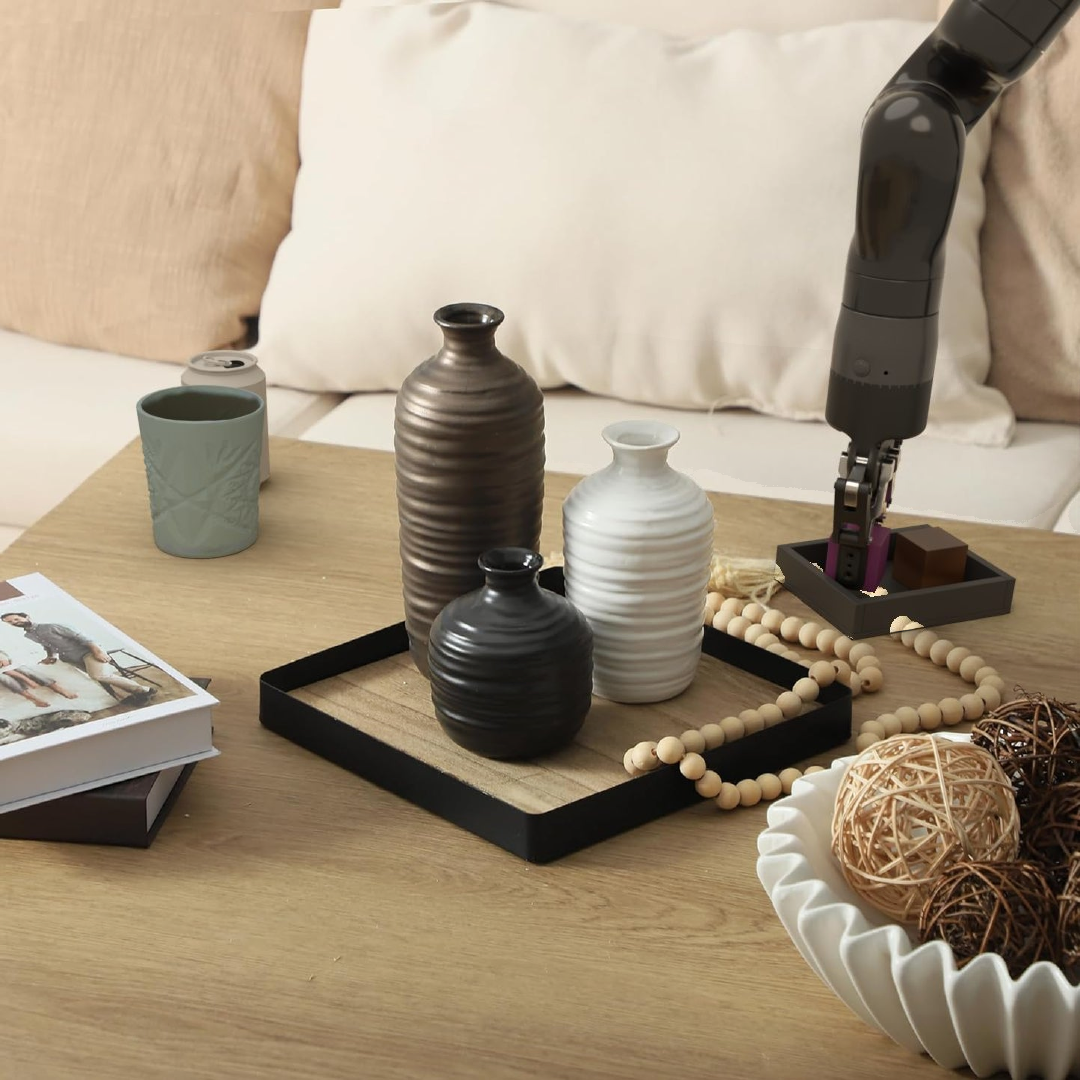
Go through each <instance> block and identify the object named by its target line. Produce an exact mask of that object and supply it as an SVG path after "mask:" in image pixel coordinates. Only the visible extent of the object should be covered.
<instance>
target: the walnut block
mask: <svg viewBox="0 0 1080 1080" xmlns="http://www.w3.org/2000/svg"><path fill="white" fill-rule="evenodd" d="M968 549H969V544H968V543H967V542H965V541H963V540H961V539H959V538H958V537H957V536H955V535H953V534H952V533H950V532H948V531H947V530H945V529H943V527H940V526H932V527H931V528H924V529H917V530H910V531H903V532H898V533H897V539H896V547H895V554H894V561H893V568H892V576H891V577H892V578H893V579H895V580H896V581H898V582H899V583H901V584H902V585H904V586H905V587H906V588H908V589H909V590H911V591H912V590H918V589H925V588H931V587H937V586H943V585H950V584H956V583H962V582H963V577H964V571H965V565H966V558H967V552H968Z"/></svg>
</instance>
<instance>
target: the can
mask: <svg viewBox="0 0 1080 1080" xmlns="http://www.w3.org/2000/svg"><path fill="white" fill-rule="evenodd" d="M258 363H259V359H258V357H257V356H255V355H254V354H252V353H250V352H247V351H241V350H233V349H231V350H230V349H219V350H215V349H214V350H207V351H203V352H199V353H195V354H193V355H191V356H189V358H188V359H187V360H186V365H187V366H188V367H187V368H186V369H185V370H184V371H183V372H182V374H180V386H190V385H217V386H227V387H235V388H239V389H244V390H248V391H251V392H253V393H255V394H257V395H259V396H260V397H261V398H262V399H263V401H264V403H265V412H264V425H263V432H262V437H263V439H262V453H261V458H260V467H259V469H260V473H261V477H260V486H261V485H262V484H263V483H264V482H265V481H266V480H267V479H268V478H269V477H270V475H271V463H270V444H269V441H270V439H269V421H268V420H269V418H268V400H267V399H268V397H267V396H268V395H267V377H266V376H267V375H266V372H265V371H264V370H263V369H262V368H261V367H260V366H259V365H258Z"/></svg>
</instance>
